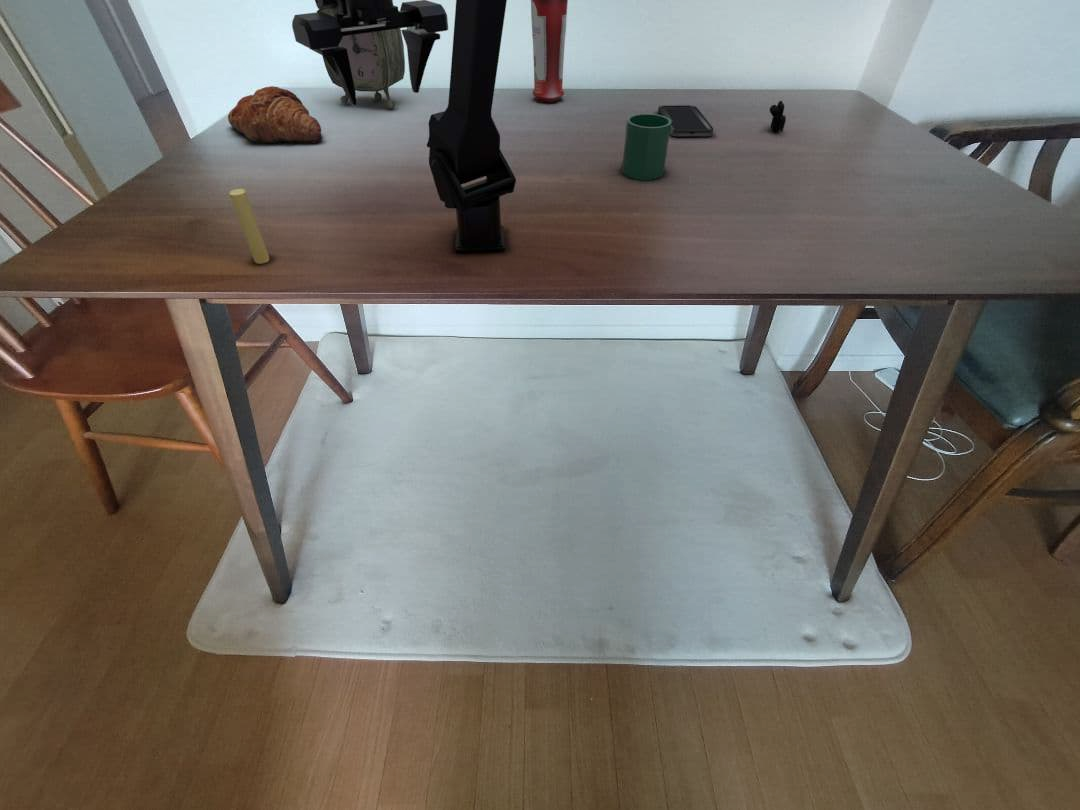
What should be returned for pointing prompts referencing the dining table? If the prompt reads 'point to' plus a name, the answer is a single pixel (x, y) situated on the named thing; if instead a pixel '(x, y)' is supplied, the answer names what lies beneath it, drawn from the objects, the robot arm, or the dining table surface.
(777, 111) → the black figurine
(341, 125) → the dining table surface
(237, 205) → the yellow rod
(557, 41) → the liquor
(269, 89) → the pastry
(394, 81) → the tabletop clock
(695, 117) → the phone
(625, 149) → the cup
